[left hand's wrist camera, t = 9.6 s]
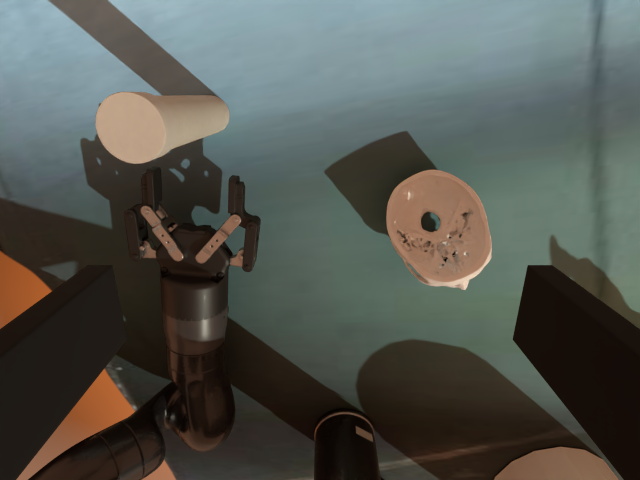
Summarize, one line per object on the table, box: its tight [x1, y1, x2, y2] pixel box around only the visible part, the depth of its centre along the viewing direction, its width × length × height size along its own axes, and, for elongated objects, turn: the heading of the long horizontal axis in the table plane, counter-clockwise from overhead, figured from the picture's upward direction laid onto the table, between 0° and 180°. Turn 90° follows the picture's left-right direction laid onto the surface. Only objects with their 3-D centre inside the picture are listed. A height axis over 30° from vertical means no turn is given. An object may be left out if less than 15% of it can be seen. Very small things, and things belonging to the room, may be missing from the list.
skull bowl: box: [386, 170, 492, 290], centre depth 47 cm, size 10×14×12 cm
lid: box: [96, 92, 177, 164], centre depth 27 cm, size 5×5×2 cm
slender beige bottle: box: [156, 95, 230, 149], centre depth 36 cm, size 4×4×20 cm
